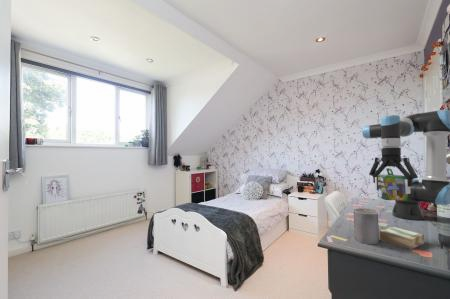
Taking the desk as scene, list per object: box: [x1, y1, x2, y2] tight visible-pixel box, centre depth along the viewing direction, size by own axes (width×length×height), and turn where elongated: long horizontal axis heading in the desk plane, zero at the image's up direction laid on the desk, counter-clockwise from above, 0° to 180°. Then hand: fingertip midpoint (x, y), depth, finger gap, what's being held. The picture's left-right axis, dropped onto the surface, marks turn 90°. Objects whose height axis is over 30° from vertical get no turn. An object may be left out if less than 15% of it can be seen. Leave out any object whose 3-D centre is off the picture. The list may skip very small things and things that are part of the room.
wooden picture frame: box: [379, 226, 425, 250], centre depth 99 cm, size 12×12×4 cm
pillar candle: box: [353, 207, 380, 245], centre depth 101 cm, size 10×10×15 cm
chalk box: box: [377, 167, 408, 201], centre depth 106 cm, size 9×9×15 cm
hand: (391, 191), depth 106 cm, fingers closed on chalk box, 12 cm apart
